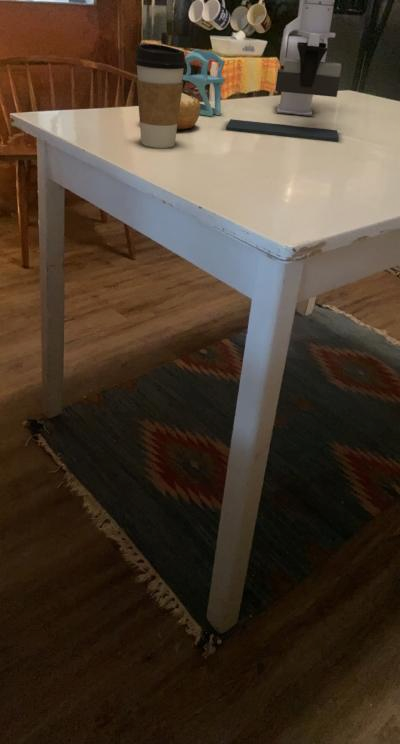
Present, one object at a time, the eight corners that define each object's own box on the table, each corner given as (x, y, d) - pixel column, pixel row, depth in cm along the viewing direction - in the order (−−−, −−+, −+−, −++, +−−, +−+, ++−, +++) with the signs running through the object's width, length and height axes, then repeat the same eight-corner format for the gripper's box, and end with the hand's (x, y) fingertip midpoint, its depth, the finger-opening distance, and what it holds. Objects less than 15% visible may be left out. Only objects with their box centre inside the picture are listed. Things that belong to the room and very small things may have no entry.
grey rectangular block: (275, 91, 119) (279, 59, 116) (275, 87, 122) (279, 57, 119) (336, 97, 118) (342, 65, 115) (335, 93, 121) (341, 63, 118)
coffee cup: (160, 136, 111) (162, 43, 102) (192, 146, 106) (197, 49, 98) (123, 141, 105) (123, 44, 97) (155, 152, 101) (158, 50, 92)
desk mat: (230, 122, 125) (230, 119, 125) (336, 133, 124) (337, 130, 123) (225, 130, 119) (225, 126, 119) (338, 141, 117) (338, 138, 117)
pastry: (203, 134, 114) (207, 82, 109) (140, 132, 112) (141, 79, 107) (194, 120, 124) (197, 72, 119) (136, 118, 122) (136, 69, 117)
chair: (204, 117, 127) (209, 54, 121) (175, 110, 132) (178, 48, 125) (227, 114, 132) (233, 52, 126) (199, 107, 137) (202, 47, 130)
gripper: (342, 7, 105) (327, 92, 113) (338, 4, 117) (325, 81, 125) (301, 3, 106) (290, 88, 113) (301, 1, 118) (291, 78, 125)
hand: (306, 84), depth 119 cm, fingers closed on grey rectangular block, 4 cm apart
